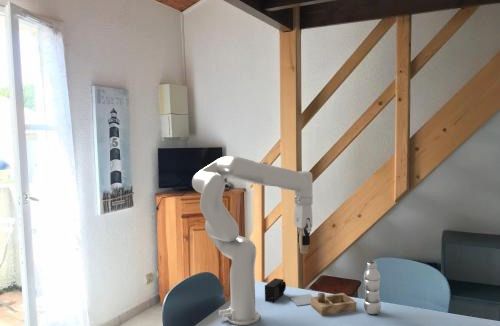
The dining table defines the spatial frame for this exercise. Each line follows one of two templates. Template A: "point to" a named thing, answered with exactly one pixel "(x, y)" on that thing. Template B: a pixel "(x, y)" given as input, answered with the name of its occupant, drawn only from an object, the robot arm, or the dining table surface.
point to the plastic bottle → (372, 289)
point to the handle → (303, 247)
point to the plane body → (333, 304)
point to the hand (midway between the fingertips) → (303, 243)
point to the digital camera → (274, 290)
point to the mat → (301, 299)
